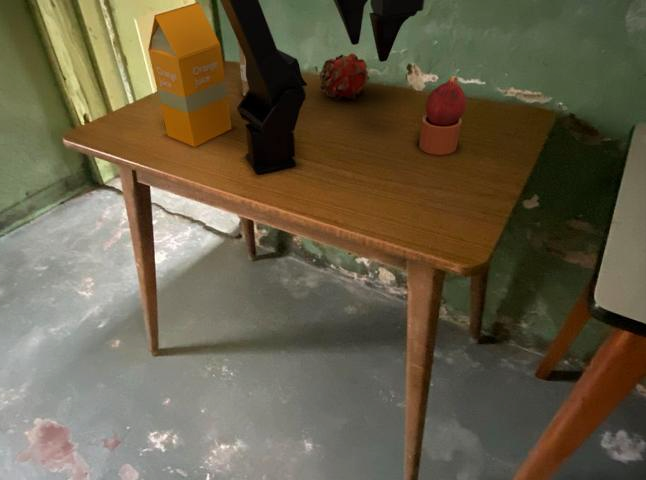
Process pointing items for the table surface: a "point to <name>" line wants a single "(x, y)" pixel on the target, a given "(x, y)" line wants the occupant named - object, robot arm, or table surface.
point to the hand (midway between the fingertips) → (368, 52)
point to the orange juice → (189, 75)
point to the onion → (446, 103)
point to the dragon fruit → (343, 76)
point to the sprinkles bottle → (243, 70)
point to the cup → (439, 137)
